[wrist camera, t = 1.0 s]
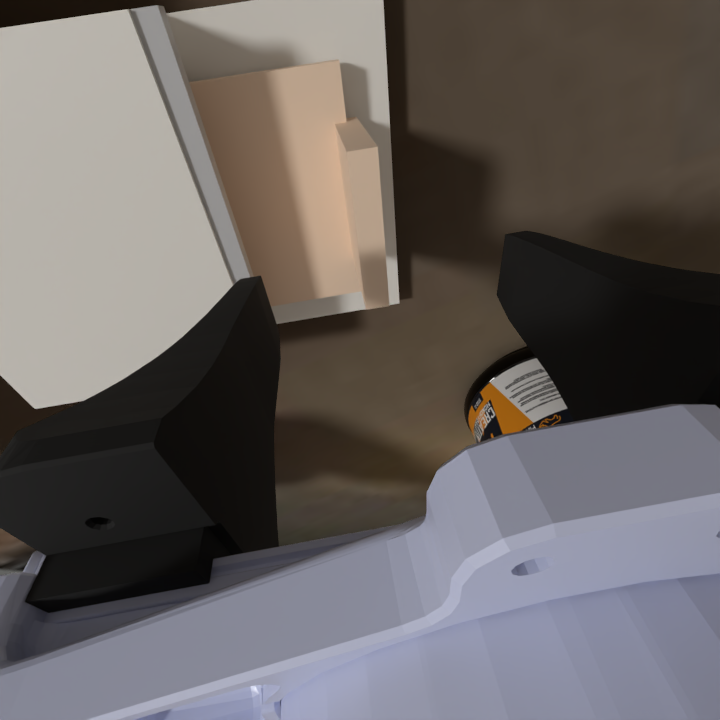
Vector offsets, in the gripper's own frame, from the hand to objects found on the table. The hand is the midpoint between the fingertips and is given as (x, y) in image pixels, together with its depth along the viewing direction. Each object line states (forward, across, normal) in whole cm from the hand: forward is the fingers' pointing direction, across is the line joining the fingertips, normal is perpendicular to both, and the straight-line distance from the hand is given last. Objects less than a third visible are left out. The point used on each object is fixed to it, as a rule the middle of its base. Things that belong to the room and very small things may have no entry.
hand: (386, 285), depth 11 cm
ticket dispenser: (+10, +8, 0) cm, 13 cm away
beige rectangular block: (+9, +8, 0) cm, 12 cm away
